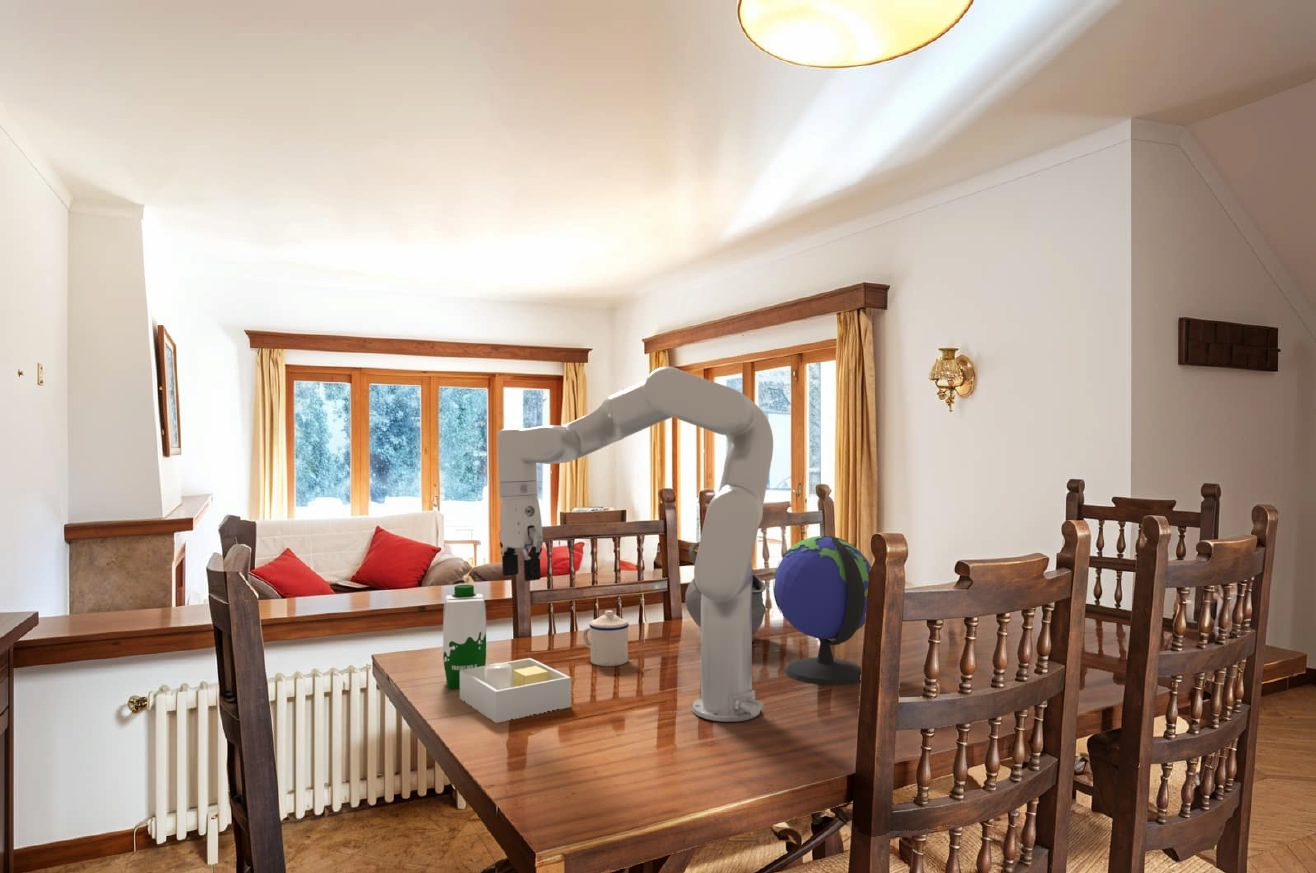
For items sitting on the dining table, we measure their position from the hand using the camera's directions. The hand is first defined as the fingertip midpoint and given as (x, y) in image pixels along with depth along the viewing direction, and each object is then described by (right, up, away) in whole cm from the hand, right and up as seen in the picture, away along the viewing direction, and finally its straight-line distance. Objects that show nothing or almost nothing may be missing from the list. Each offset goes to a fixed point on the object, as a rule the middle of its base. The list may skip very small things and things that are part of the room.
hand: (521, 577), depth 158 cm
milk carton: (-14, -24, +11) cm, 30 cm away
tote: (-1, -24, -2) cm, 24 cm away
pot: (+44, -25, +47) cm, 69 cm away
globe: (+64, -24, +17) cm, 70 cm away
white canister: (-4, -23, -4) cm, 24 cm away
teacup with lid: (+14, -24, +28) cm, 40 cm away
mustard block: (+2, -23, 0) cm, 23 cm away
